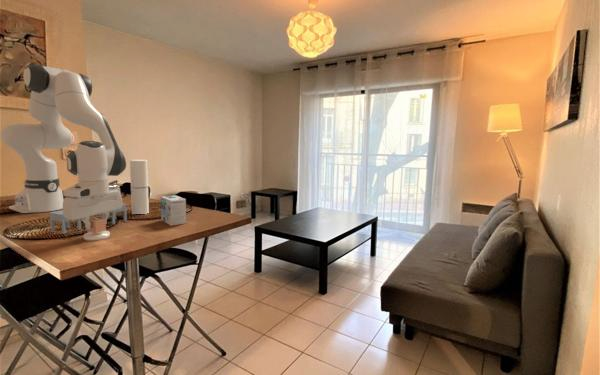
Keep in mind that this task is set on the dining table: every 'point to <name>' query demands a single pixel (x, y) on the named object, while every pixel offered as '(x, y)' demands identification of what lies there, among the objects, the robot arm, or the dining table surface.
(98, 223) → the block
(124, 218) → the cover high
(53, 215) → the cover low
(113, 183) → the balance
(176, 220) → the light bulb box
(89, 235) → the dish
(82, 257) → the dining table surface
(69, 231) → the dining table surface
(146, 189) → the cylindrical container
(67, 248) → the dining table surface
